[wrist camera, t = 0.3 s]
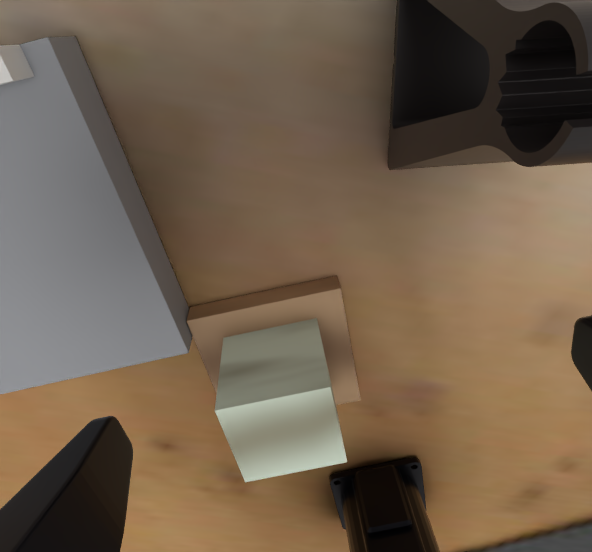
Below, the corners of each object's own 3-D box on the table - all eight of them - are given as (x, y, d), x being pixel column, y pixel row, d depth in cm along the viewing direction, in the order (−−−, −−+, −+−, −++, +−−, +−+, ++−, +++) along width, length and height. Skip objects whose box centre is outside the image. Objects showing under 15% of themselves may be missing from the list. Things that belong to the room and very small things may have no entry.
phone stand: (401, -80, 16) (685, -303, 5) (562, -87, 16) (1142, -311, 5) (386, 167, 20) (521, 314, 10) (511, 159, 20) (776, 294, 10)
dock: (195, 323, 24) (183, 373, 20) (-13, 369, 24) (-59, 426, 21) (75, 36, 17) (26, 37, 13) (-213, 110, 17) (-334, 130, 14)
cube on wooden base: (355, 382, 27) (381, 475, 21) (231, 407, 27) (223, 506, 22) (336, 273, 23) (361, 352, 17) (190, 304, 23) (168, 392, 18)
